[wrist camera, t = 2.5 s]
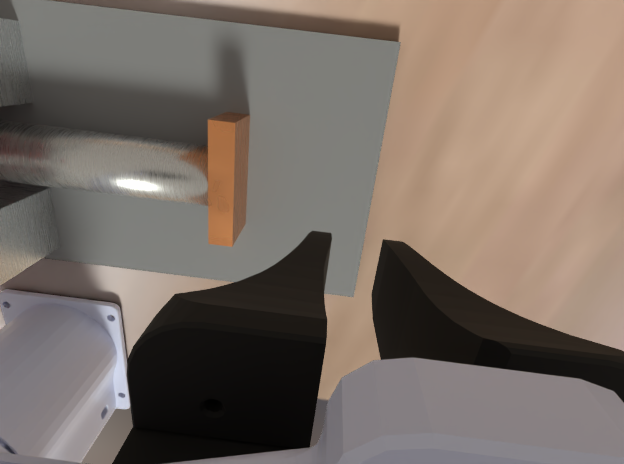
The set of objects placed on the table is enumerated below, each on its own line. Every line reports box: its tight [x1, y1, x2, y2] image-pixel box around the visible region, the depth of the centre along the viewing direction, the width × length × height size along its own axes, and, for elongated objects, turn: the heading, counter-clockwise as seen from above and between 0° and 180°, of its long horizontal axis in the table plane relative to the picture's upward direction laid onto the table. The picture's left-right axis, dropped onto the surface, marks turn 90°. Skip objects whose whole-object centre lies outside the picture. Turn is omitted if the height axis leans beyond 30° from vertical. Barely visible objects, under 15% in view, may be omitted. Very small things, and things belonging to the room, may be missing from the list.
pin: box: [0, 112, 250, 247], centre depth 19 cm, size 12×6×3 cm, turn 84°
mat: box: [0, 0, 401, 297], centre depth 20 cm, size 14×26×1 cm, turn 84°
